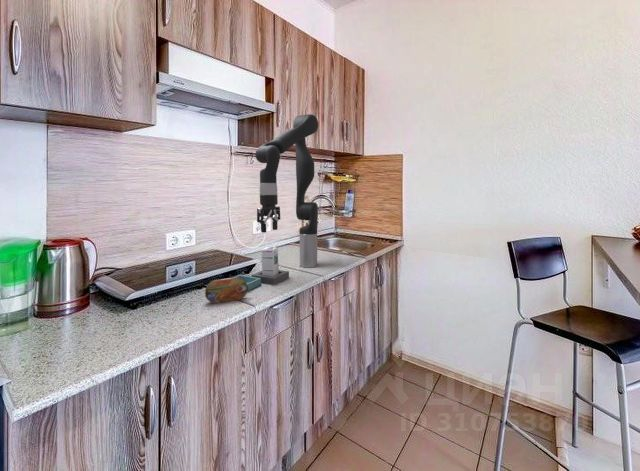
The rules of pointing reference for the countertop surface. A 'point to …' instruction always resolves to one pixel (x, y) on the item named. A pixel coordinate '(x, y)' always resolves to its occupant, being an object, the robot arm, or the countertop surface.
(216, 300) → the tin
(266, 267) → the syrup box
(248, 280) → the parts tray
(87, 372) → the countertop surface
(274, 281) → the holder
